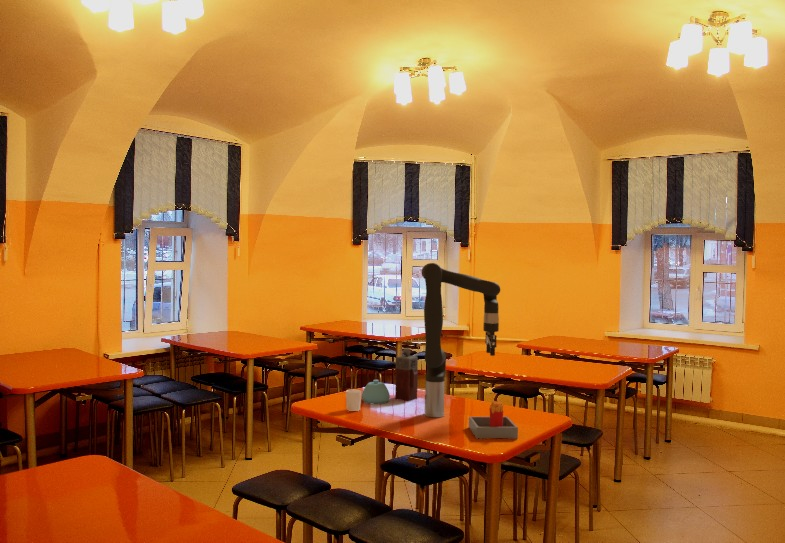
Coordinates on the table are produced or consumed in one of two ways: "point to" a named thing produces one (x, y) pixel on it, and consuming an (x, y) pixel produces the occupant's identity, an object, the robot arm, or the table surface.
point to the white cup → (353, 399)
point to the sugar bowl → (375, 392)
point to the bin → (492, 428)
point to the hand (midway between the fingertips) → (490, 354)
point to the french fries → (496, 414)
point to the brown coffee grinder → (406, 376)
